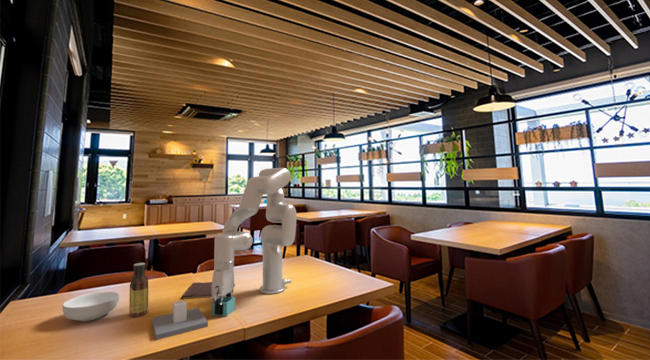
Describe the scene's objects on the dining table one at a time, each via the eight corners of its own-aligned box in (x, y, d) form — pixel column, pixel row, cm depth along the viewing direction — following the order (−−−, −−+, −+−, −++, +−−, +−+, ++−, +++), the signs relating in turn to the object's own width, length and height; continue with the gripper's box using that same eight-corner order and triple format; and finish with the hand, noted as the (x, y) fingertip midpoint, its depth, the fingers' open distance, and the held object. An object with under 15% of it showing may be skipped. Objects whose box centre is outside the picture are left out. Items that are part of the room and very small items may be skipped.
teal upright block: (220, 308, 116) (220, 296, 116) (235, 309, 115) (235, 297, 115) (211, 315, 110) (212, 302, 110) (226, 316, 108) (227, 303, 109)
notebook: (222, 284, 149) (222, 280, 149) (216, 297, 130) (216, 293, 130) (192, 286, 146) (192, 282, 146) (181, 300, 127) (181, 295, 127)
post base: (198, 311, 113) (199, 292, 114) (207, 326, 100) (208, 304, 101) (152, 321, 104) (152, 301, 105) (155, 340, 91) (156, 316, 91)
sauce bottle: (135, 311, 114) (136, 261, 115) (151, 310, 114) (152, 261, 115) (125, 318, 107) (126, 265, 108) (142, 317, 108) (143, 265, 109)
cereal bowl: (71, 331, 97) (72, 310, 98) (55, 320, 106) (55, 301, 106) (126, 313, 112) (127, 295, 112) (108, 305, 120) (108, 288, 121)
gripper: (226, 259, 122) (226, 301, 121) (202, 270, 105) (202, 319, 104) (242, 260, 121) (242, 302, 120) (221, 271, 104) (220, 320, 103)
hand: (223, 310), depth 112 cm, fingers closed on teal upright block, 6 cm apart
